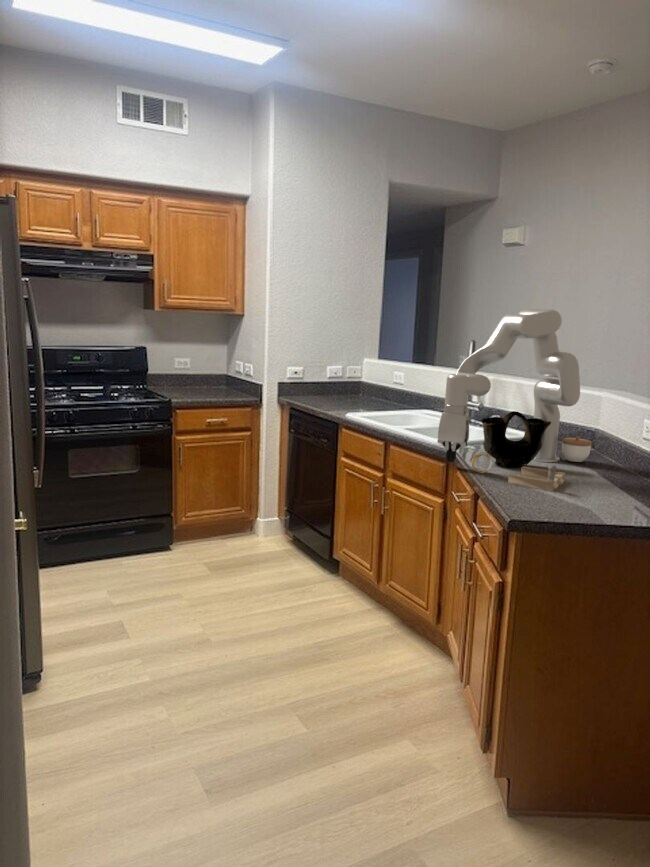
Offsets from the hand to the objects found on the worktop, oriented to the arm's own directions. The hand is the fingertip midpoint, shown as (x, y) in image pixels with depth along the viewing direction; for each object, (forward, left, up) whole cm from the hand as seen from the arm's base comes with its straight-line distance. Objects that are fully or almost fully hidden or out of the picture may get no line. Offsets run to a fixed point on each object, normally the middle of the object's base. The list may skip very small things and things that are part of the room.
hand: (450, 461), depth 229 cm
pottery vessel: (-20, +16, -3) cm, 26 cm away
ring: (0, +11, -3) cm, 12 cm away
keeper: (0, +29, -3) cm, 29 cm away
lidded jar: (-47, +32, -3) cm, 57 cm away
